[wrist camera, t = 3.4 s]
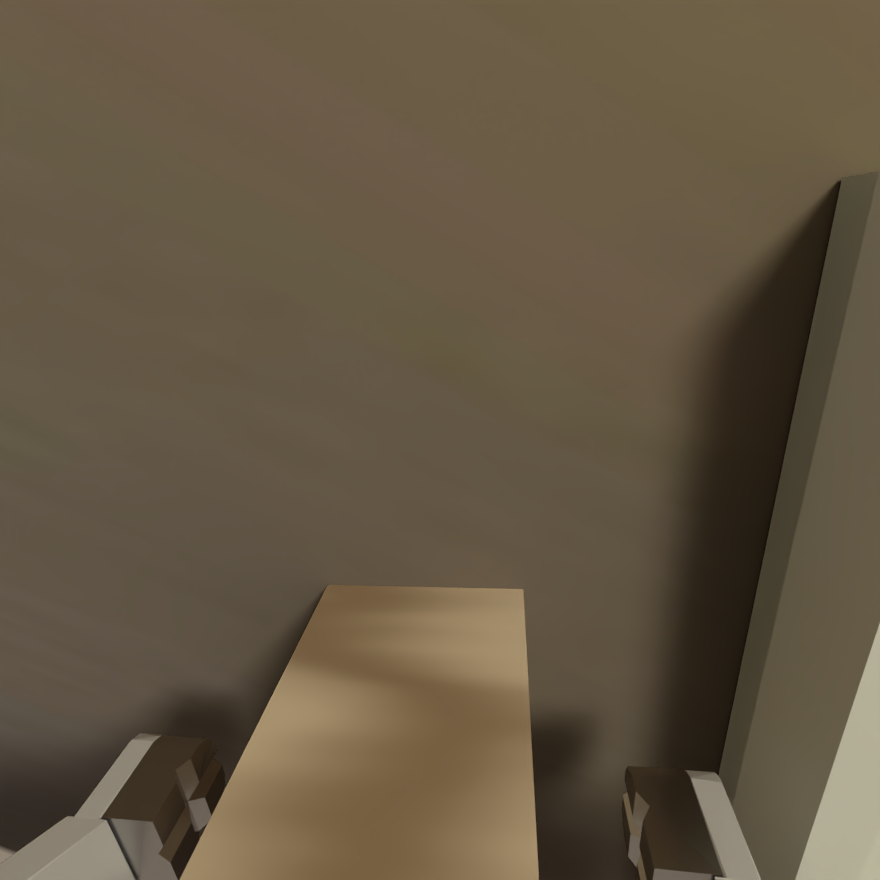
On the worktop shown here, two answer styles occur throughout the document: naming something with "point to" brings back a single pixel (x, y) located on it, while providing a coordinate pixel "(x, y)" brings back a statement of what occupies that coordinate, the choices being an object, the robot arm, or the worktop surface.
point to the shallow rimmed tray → (820, 594)
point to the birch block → (388, 747)
